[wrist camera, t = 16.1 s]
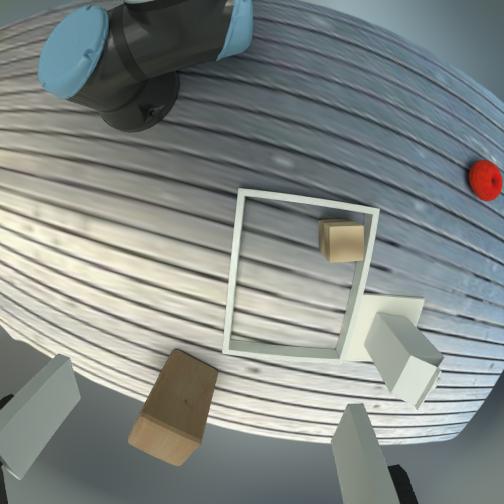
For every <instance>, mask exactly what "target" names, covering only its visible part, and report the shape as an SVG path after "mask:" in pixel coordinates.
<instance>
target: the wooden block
mask: <svg viewBox="0 0 504 504" xmlns="http://www.w3.org/2000/svg"><path fill="white" fill-rule="evenodd" d="M217 375H218V372H217V370H216V369H214V368H212V367H210V366H208V365H206V364H204V363H202V362H200V361H198V360H196V359H195V358H193V357H191V356H189V355H187V354H185V353H183V352H181V351H179V350H176V349H175V350H174V351H172V352H171V354H170V356H169V358H168V360H167V362H166V364H165V366H164V367H163V369H162V371H161V373H160V375H159V377H158V379H157V381H156V383H155V385H154V386H153V388H152V390H151V392H150V394H149V396H148V398H147V400H146V402H145V404H144V406H143V408H142V410H141V412H140V414H139V416H138V418H137V420H136V422H135V424H134V426H133V428H132V430H131V432H130V434H129V436H128V443H130V444H131V445H132V446H134V447H136V448H138V449H140V450H142V451H144V452H146V453H148V454H150V455H152V456H154V457H157V458H159V459H161V460H163V461H166V462H168V463H170V464H172V465H175V466H181V465H182V464H183V463H184V462H185V461H186V460H187V458H188V457H189V456H190V455H191V454H192V453H193V452H194V451H195V450H196V449H197V447H198V446H199V445H200V444H201V442H202V438H203V433H204V429H205V425H206V421H207V417H208V413H209V409H210V404H211V400H212V396H213V392H214V388H215V384H216V380H217Z"/></svg>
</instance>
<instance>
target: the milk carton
mask: <svg viewBox="0 0 504 504" xmlns="http://www.w3.org/2000/svg"><path fill="white" fill-rule="evenodd" d="M364 347H365V348H366V350H367V352H368V354H369V355H370V357H371V359H372V361H373V363H374V364H375V366H376V368H377V370H378V371H379V373H380V375H381V377H382V379H383V381H384V382H385V384H386V386H387V388H388V390H389V392H390V394H391V395H393V396H395V397H397V398H400V399H402V400H404V401H406V402H408V403H410V404H412V405H414V406H415V407H416V409H417V410H419V408H420V407H421V405H422V404H423V402H424V401H425V399H426V397H427V396H428V394H429V392H430V391H431V390H432V391H433V390H434V389H435V387H436V386H437V384H438V382H439V381H440V378H439V375H440V373H441V370H440V369H439V367H440V365H441V363H442V361H443V359H444V356H443V355H442V354H441V353H440V352H439V351H438V350H437V349H436V348H435V346H434V345H433V344H432V343H431V342H430V341H429V340H428V339H427V338H426V337H425V336H424V335H423V334H422V333H421V332H420V331H419V330H418V329H417V327H416V326H415V325H414V324H413V323H412V322H411V321H410V320H409V319H408V318H407V317H400V316H394V315H387V314H381V313H376V316H375V318H374V321H373V324H372V326H371V329H370V331H369V334H368V336H367V339H366V341H365V343H364Z"/></svg>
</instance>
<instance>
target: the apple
mask: <svg viewBox="0 0 504 504" xmlns="http://www.w3.org/2000/svg"><path fill="white" fill-rule="evenodd" d="M502 181H503V180H502V176H501V174H500V172H499V169H498V168H497V167H496V165H494V164H493V163H492V162H489V161H487V160H481V161H477V162H476V163H475V164H474V165H473V166H472V168H471V169H470V172H469V182H470V186H471V188H472V189H473V191H474V193H475V194H476V195H477V196H478V197H479V198H480V199H481V200H484V201H491V200H494V199H495V198H496V197H497V196H498V195H499V194H500V192H501V189H502Z"/></svg>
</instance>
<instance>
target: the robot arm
mask: <svg viewBox="0 0 504 504" xmlns="http://www.w3.org/2000/svg"><path fill="white" fill-rule="evenodd" d="M123 1H124V4H122V5H120V6H117V7H115V8H113V9H111V10H109V11H106V10H105V9H104V8H103V7H98V6H91V5H89V6H84V7H82V8H79V9H77V10H75V11H74V12H72V13H71V14H69V15H68V16H67V17H65V18H64V19H63V20H62V21H61V22H60V23H59V24H58V25H57V27H56V28H55V29H54V30H53V32H52V33H51V34H50V36H49V38H48V40H47V42H46V43H45V45H44V47H43V49H42V52H41V55H40V59H39V63H38V78H39V81H40V84H41V86H42V87H43V88H44V89H45V90H46V91H48V92H50V93H52V94H54V95H56V96H57V97H58V98H59V99H65V100H68V101H71V102H74V103H77V104H80V105H83V106H86V107H89V108H92V109H94V110H97V111H98V112H99V113H100V115H101V117H102V118H103V120H104V121H105V122H106V123H107V124H108V125H110V126H111V127H113V128H115V129H118V130H121V131H124V132H138V131H142V130H145V129H148V128H150V127H152V126H153V125H155V124H156V123H158V122H159V121H160V120H161V119H163V118H164V117H165V115H166V114H167V113H168V112H169V111H170V109H171V108H172V106H173V104H174V102H175V100H176V97H177V94H178V89H179V79H178V75H177V72H176V70H179V69H183V68H186V67H190V66H193V65H197V64H201V63H205V62H209V61H218V60H220V59H221V58H224V57H228V56H232V55H236V54H240V53H242V52H244V51H245V50H246V49H247V48H248V47H249V45H250V43H251V40H252V34H253V6H252V1H251V0H123ZM80 398H81V396H80V393H79V390H78V386H77V383H76V379H75V376H74V372H73V368H72V364H71V360H70V358H69V357H67V356H64V355H61V354H58V355H57V356H55V357H54V358H53V359H52V360H51V361H50V362H49V363H48V364H47V365H46V366H45V367H44V368H43V369H42V370H41V371H40V372H38V374H36V375H35V376H34V377H33V378H32V379H31V380H30V381H29V382H28V383H27V384H26V385H25V386H24V387H23V388H22V389H21V390H20V391H19V392H18V393H17V394H16V395H15V396H14V395H12V394H10V395H8V396H6V397H4V398H2V399H1V400H0V504H8V501H7V495H6V489H5V483H4V476H3V471H2V468H1V466H2V465H4V466H5V468H6V469H7V470H8V471H9V472H10V473H11V474H13V475H14V476H15V477H17V478H18V479H20V480H21V479H22V478H23V476H24V475H25V473H26V472H27V470H28V469H29V467H30V466H31V465H32V463H33V462H34V460H35V459H36V457H37V456H38V455H39V453H40V452H41V451H42V449H43V448H44V446H45V445H46V444H47V442H48V441H49V440H50V438H51V437H52V435H53V434H54V433H55V431H56V430H57V429H58V427H59V426H60V425H61V423H62V422H63V421H64V419H65V418H66V417H67V415H68V414H69V413H70V411H71V410H72V409H73V408H74V406H75V405H76V404H77V402H78V401H79V400H80ZM331 444H332V448H333V453H334V458H335V462H336V467H337V472H338V477H339V482H340V487H341V492H342V497H343V502H344V504H418V501H417V499H416V496H415V493H414V491H413V488H412V485H411V484H410V480H409V478H408V475H407V473H406V472H405V470H404V469H403V468H402V467H401V466H400V465H399V464H398V465H393V466H387V465H386V462H385V459H384V457H383V454H382V451H381V448H380V446H379V443H378V440H377V438H376V435H375V433H374V430H373V427H372V425H371V422H370V420H369V417H368V414H367V412H366V409H365V407H364V404H363V403H361V404H348V405H347V407H346V409H345V412H344V414H343V416H342V418H341V421H340V423H339V425H338V427H337V429H336V431H335V434H334V436H333V438H332V440H331Z"/></svg>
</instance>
